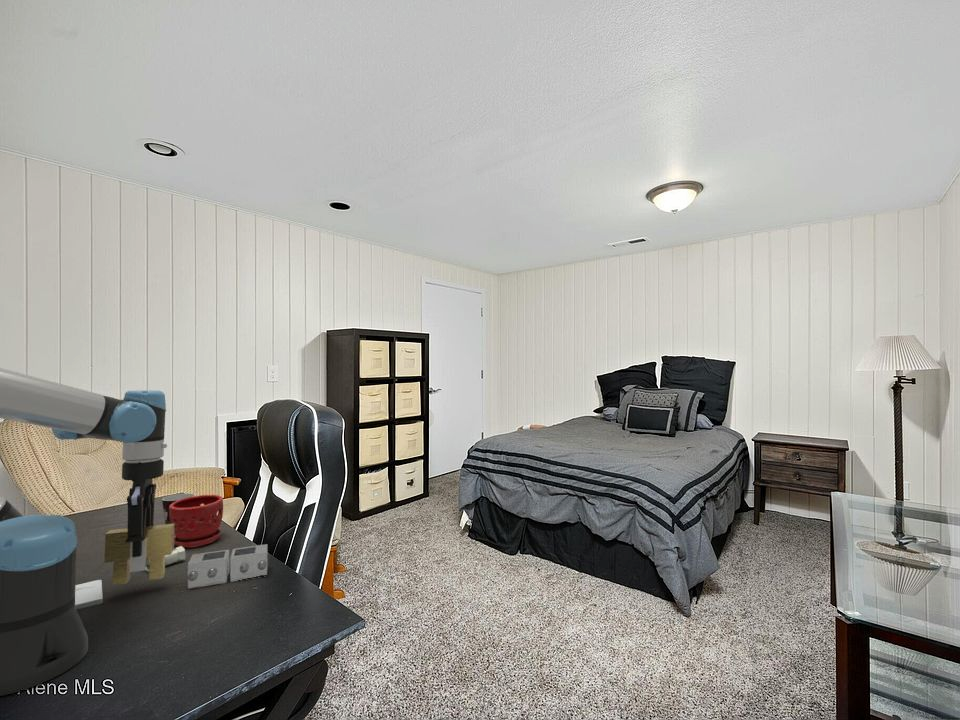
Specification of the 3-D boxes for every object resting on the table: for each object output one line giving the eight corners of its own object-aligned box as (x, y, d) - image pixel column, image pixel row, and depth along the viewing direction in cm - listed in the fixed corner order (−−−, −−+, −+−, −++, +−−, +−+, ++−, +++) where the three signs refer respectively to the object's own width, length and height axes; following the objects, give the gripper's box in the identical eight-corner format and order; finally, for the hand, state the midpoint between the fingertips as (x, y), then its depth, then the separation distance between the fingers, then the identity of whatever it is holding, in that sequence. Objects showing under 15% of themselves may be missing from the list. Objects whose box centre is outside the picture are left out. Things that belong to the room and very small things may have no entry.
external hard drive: (49, 619, 93) (53, 597, 103) (102, 606, 98) (101, 585, 108) (49, 611, 93) (53, 589, 103) (102, 598, 98) (101, 578, 108)
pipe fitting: (137, 570, 116) (150, 573, 113) (137, 553, 117) (150, 557, 113) (172, 558, 123) (185, 562, 120) (172, 543, 124) (185, 546, 120)
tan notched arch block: (170, 577, 104) (171, 527, 104) (103, 586, 99) (105, 534, 100) (173, 572, 107) (174, 523, 107) (108, 581, 102) (110, 529, 103)
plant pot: (175, 538, 137) (175, 497, 138) (226, 532, 142) (226, 492, 142) (163, 554, 125) (163, 508, 125) (219, 547, 130) (219, 503, 130)
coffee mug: (164, 527, 147) (164, 495, 147) (196, 523, 151) (196, 492, 151) (157, 539, 137) (157, 504, 137) (191, 534, 140) (191, 500, 140)
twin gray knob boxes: (266, 577, 110) (266, 553, 110) (187, 590, 104) (187, 565, 104) (267, 566, 116) (267, 544, 116) (192, 578, 110) (192, 554, 110)
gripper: (154, 464, 98) (150, 578, 97) (171, 453, 113) (168, 553, 112) (110, 467, 95) (106, 585, 94) (133, 455, 110) (129, 557, 109)
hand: (139, 567), depth 103 cm, fingers closed on tan notched arch block, 3 cm apart
